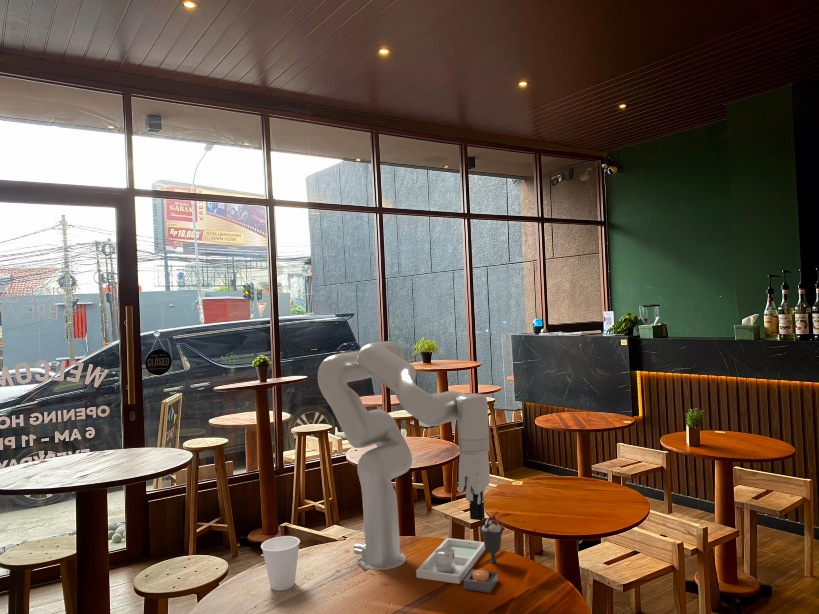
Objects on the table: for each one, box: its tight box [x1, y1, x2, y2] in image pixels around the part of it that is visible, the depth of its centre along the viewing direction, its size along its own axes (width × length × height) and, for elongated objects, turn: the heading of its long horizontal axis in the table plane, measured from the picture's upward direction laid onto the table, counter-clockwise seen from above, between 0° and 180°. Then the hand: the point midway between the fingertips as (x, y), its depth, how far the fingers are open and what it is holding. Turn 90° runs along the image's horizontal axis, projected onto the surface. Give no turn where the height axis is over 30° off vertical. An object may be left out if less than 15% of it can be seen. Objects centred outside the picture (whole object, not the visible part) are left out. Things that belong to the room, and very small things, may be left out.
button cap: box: [472, 569, 489, 582], centre depth 145 cm, size 4×4×2 cm
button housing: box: [463, 568, 499, 594], centre depth 145 cm, size 7×7×3 cm
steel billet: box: [434, 548, 455, 574], centre depth 154 cm, size 5×5×5 cm
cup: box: [260, 535, 301, 592], centre depth 153 cm, size 10×10×11 cm
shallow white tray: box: [415, 537, 486, 585], centre depth 159 cm, size 12×22×3 cm, turn 156°
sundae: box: [478, 511, 506, 565], centre depth 157 cm, size 7×7×15 cm
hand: (477, 518), depth 146 cm, fingers closed
